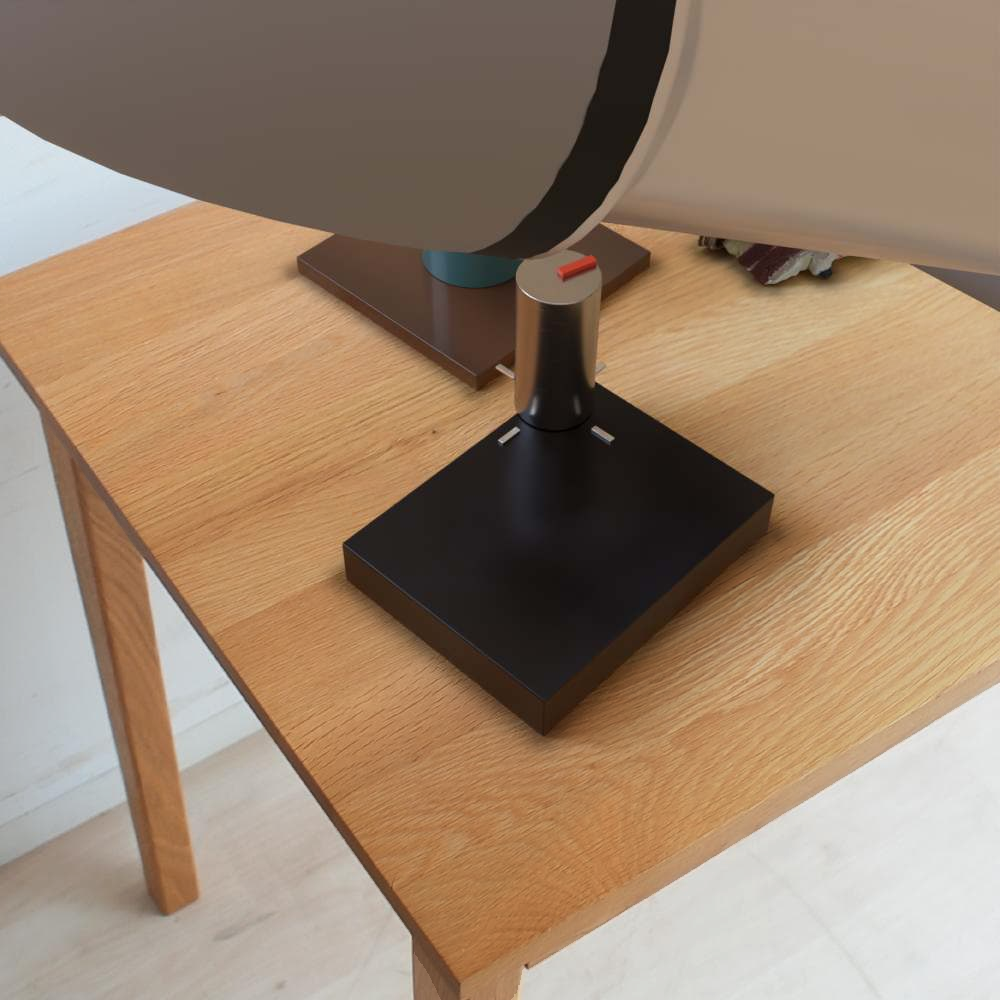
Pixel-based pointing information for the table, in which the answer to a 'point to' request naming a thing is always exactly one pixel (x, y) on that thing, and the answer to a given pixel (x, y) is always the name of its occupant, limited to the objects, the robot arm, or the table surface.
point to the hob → (557, 550)
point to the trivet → (447, 297)
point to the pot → (469, 268)
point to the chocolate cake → (774, 259)
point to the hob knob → (556, 339)
